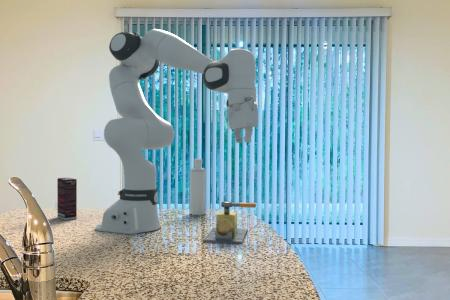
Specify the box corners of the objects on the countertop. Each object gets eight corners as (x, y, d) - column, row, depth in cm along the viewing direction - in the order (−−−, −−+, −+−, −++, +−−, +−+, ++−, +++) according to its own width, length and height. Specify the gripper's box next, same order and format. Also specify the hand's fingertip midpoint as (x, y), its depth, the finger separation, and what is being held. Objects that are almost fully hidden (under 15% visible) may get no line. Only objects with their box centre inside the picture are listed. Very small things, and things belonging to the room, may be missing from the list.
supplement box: (77, 219, 153) (77, 178, 152) (64, 220, 150) (64, 179, 149) (69, 215, 159) (68, 177, 159) (56, 217, 156) (56, 178, 155)
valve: (203, 242, 120) (203, 211, 119) (213, 229, 136) (213, 202, 136) (241, 244, 118) (242, 212, 117) (247, 231, 134) (247, 203, 134)
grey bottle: (187, 214, 164) (187, 155, 163) (195, 211, 170) (195, 154, 169) (200, 215, 161) (200, 155, 160) (208, 213, 167) (208, 155, 166)
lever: (220, 207, 125) (220, 202, 125) (222, 205, 129) (222, 201, 129) (255, 208, 124) (255, 204, 123) (256, 206, 127) (256, 202, 127)
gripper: (263, 95, 115) (263, 142, 115) (242, 103, 135) (242, 142, 135) (242, 95, 113) (243, 142, 114) (224, 102, 133) (225, 143, 133)
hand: (242, 142), depth 124 cm, fingers open, 8 cm apart
